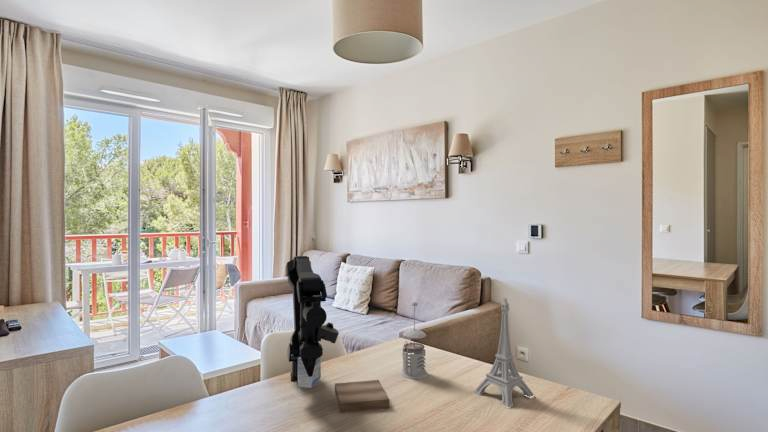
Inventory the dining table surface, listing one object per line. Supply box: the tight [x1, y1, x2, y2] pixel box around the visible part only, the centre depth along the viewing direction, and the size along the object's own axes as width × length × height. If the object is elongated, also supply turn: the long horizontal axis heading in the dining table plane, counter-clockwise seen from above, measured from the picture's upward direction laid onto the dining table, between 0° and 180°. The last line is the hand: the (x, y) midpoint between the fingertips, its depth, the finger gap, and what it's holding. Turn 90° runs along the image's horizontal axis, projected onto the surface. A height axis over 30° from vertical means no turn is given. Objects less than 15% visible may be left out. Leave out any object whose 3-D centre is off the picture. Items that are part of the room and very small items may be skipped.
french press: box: [399, 301, 429, 380], centre depth 143 cm, size 10×12×25 cm
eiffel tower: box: [472, 297, 535, 407], centre depth 128 cm, size 13×13×30 cm
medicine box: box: [297, 356, 322, 389], centre depth 124 cm, size 8×4×9 cm, turn 169°
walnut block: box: [334, 379, 390, 414], centre depth 123 cm, size 14×14×2 cm
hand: (309, 370), depth 124 cm, fingers closed on medicine box, 9 cm apart
